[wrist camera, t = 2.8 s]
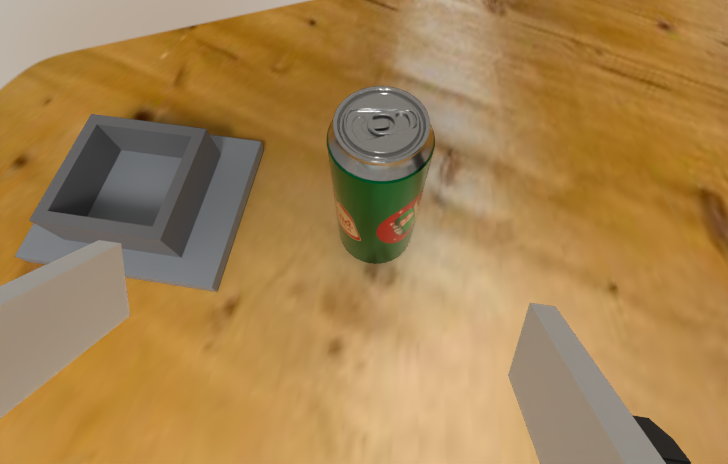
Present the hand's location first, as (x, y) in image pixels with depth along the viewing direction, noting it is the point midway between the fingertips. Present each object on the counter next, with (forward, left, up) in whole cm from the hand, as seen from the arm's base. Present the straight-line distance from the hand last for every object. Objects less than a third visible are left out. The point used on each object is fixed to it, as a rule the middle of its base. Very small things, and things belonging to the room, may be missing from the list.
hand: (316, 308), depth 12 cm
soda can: (-1, -9, -13) cm, 16 cm away
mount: (+16, -9, -13) cm, 23 cm away
